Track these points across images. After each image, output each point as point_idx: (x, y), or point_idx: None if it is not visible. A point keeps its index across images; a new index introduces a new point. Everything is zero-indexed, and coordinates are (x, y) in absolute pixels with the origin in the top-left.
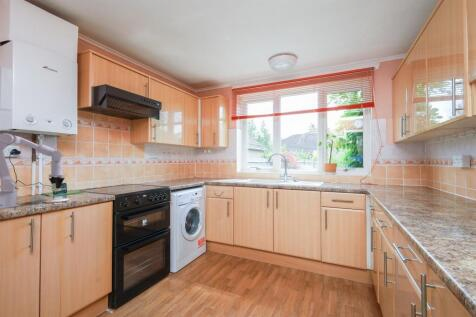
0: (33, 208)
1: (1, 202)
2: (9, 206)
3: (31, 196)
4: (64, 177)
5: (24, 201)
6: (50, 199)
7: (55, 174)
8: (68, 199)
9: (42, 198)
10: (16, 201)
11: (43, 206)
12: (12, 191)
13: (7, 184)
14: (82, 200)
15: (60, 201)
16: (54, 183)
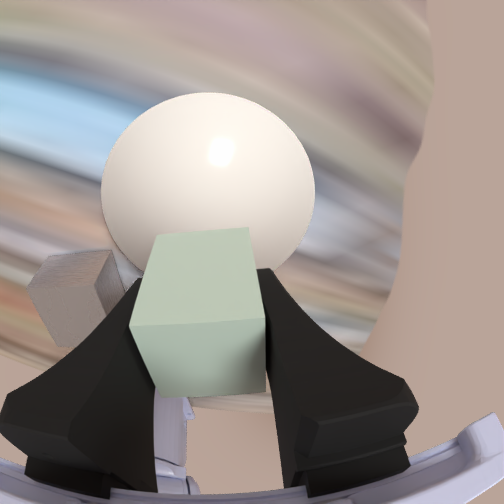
0: None
1: (184, 436)
2: (184, 401)
3: (69, 346)
4: (494, 418)
5: (4, 306)
6: (115, 225)
7: None
8: (280, 119)
9: (109, 289)
10: (161, 401)
11: (334, 321)
12: (184, 472)
13: None
14: (380, 43)
15: (310, 212)
16: (163, 376)
